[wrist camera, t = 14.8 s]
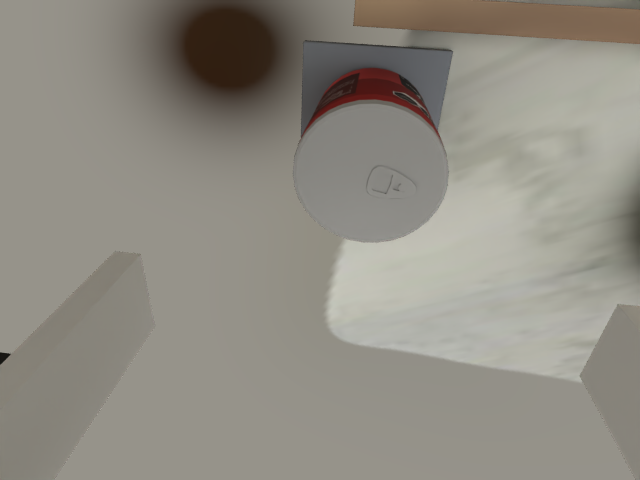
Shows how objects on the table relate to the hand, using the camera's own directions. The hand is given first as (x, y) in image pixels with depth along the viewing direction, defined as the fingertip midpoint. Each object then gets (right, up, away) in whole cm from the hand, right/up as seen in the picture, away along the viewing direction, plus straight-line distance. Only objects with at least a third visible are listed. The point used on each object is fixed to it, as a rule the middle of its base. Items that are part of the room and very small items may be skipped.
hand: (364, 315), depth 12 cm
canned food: (+2, +11, +19) cm, 22 cm away
